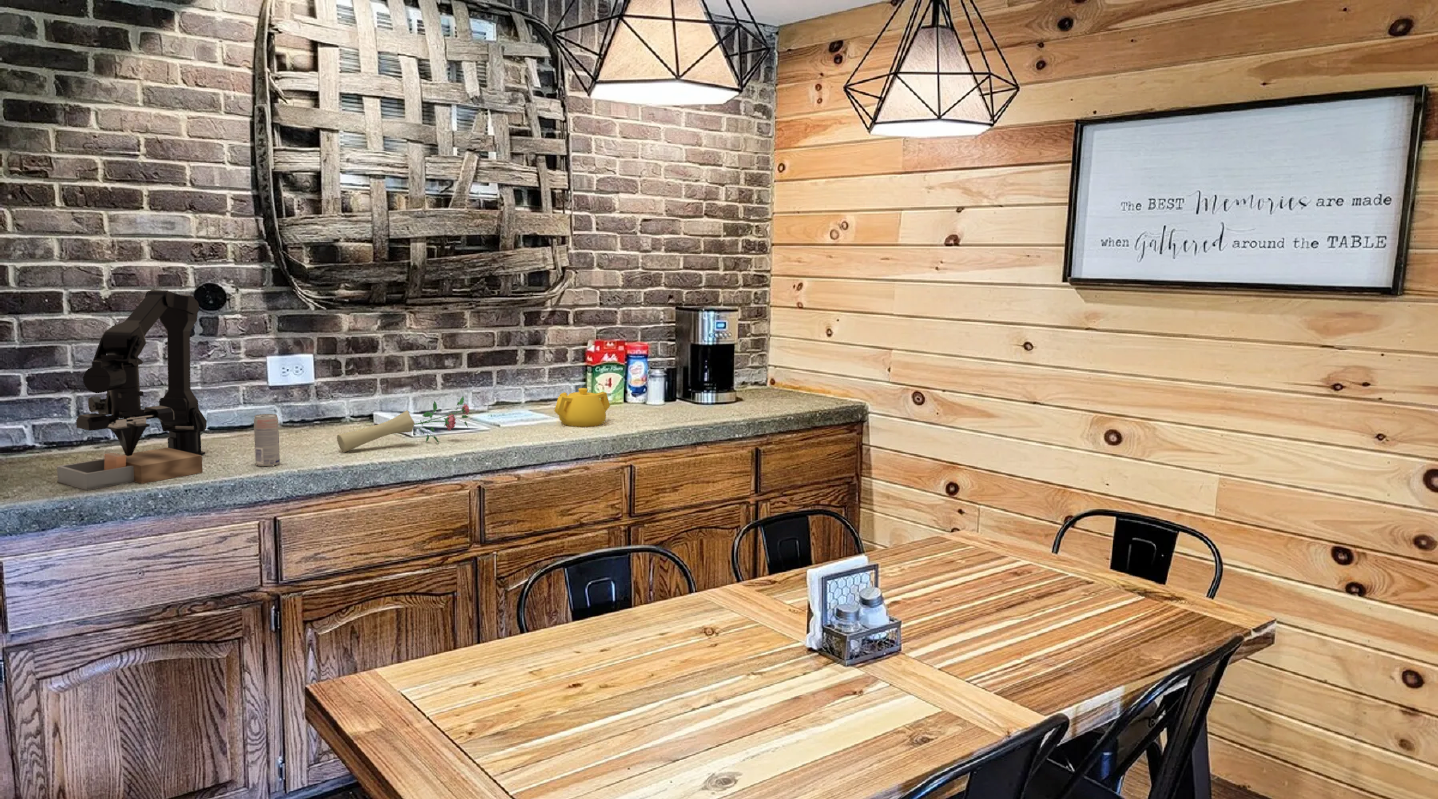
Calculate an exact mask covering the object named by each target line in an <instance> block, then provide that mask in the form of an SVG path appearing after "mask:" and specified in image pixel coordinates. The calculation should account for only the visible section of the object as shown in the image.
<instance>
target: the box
mask: <svg viewBox="0 0 1438 799" xmlns="http://www.w3.org/2000/svg"><path fill="white" fill-rule="evenodd" d="M56 477H57V482H58V483H60V484H64V485H67V486H71V487H74V488H78V489H82V490H85V491H91V490H96V489H101V488H106V487H112V486H118V485H123V484H127V483H135V482H134V467H133V466H127V467H121V468H115V469H109V470H104V458H100V459H93V460H87V461H81V462H75V463H70V464H69V463H68V464H61V465H57V466H56Z"/></svg>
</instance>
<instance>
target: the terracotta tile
mask: <svg viewBox="0 0 1438 799" xmlns="http://www.w3.org/2000/svg"><path fill="white" fill-rule="evenodd" d="M103 459H104V470H109V469H115V468H121V467H126V456H124V455H123V454H120V453H116V452H109V453H104V457H103Z"/></svg>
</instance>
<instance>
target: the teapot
mask: <svg viewBox="0 0 1438 799" xmlns="http://www.w3.org/2000/svg"><path fill="white" fill-rule="evenodd" d="M588 390H589V389H588V388H586V387H580V388H578V391H576V392H575V391H574V392H570V393H569V394H568V393H567V392H561V393H560V394H559V396H558V397H557V400H556V405H555V407H554V413H555V414H556V415H558V418H559V420H560V422H561V423H562V424H563V425H564V426H569V427H575V428H576V427H577V428H589V427H598V426H599V427H600V426H601V425H602V424H603V423H604V422H605V421H606V420H607V414H606V413H607V412H606V411H607V410H608V409H609V408H610V407H611V405H610V401H609V397H608V395H607V394H608V393H607V392H606V391H600V392H597V393H595V392H588Z"/></svg>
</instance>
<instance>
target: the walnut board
mask: <svg viewBox="0 0 1438 799" xmlns="http://www.w3.org/2000/svg"><path fill="white" fill-rule="evenodd" d="M122 455H124V456H126V455H125V453H124V454H122ZM202 455H203V454H202ZM202 455H198V454H193V453H189V452H185V451H180V450H176V449H172V448H168V446H166V447H160V448H155V449H149V450H143V451H137V452H136V451H135V452H133V454H132V456H126V467H127V466H133V467H134V482H133V483H138V484H146V483H153V482H159V481H164V480H168V479H174V478H180V477H185V476H191V475H195V474H200V473H203V472H204V471H203V469H204V468H203V456H202Z"/></svg>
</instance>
